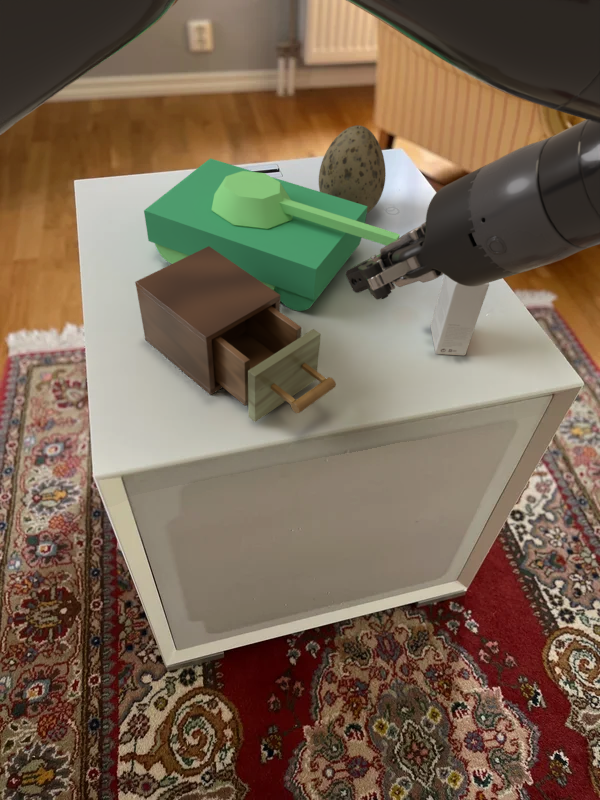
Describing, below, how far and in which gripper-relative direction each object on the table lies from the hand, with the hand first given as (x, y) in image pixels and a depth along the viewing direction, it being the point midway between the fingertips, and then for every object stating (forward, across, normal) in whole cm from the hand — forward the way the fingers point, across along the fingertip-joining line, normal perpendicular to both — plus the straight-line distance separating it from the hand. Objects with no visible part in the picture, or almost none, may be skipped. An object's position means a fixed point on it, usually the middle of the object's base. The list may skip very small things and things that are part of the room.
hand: (354, 279), depth 57 cm
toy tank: (+38, -20, -4) cm, 43 cm away
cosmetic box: (+18, -25, +16) cm, 35 cm away
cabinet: (+33, 0, +1) cm, 33 cm away
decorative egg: (+40, -38, -6) cm, 56 cm away
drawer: (+25, 0, +8) cm, 26 cm away
